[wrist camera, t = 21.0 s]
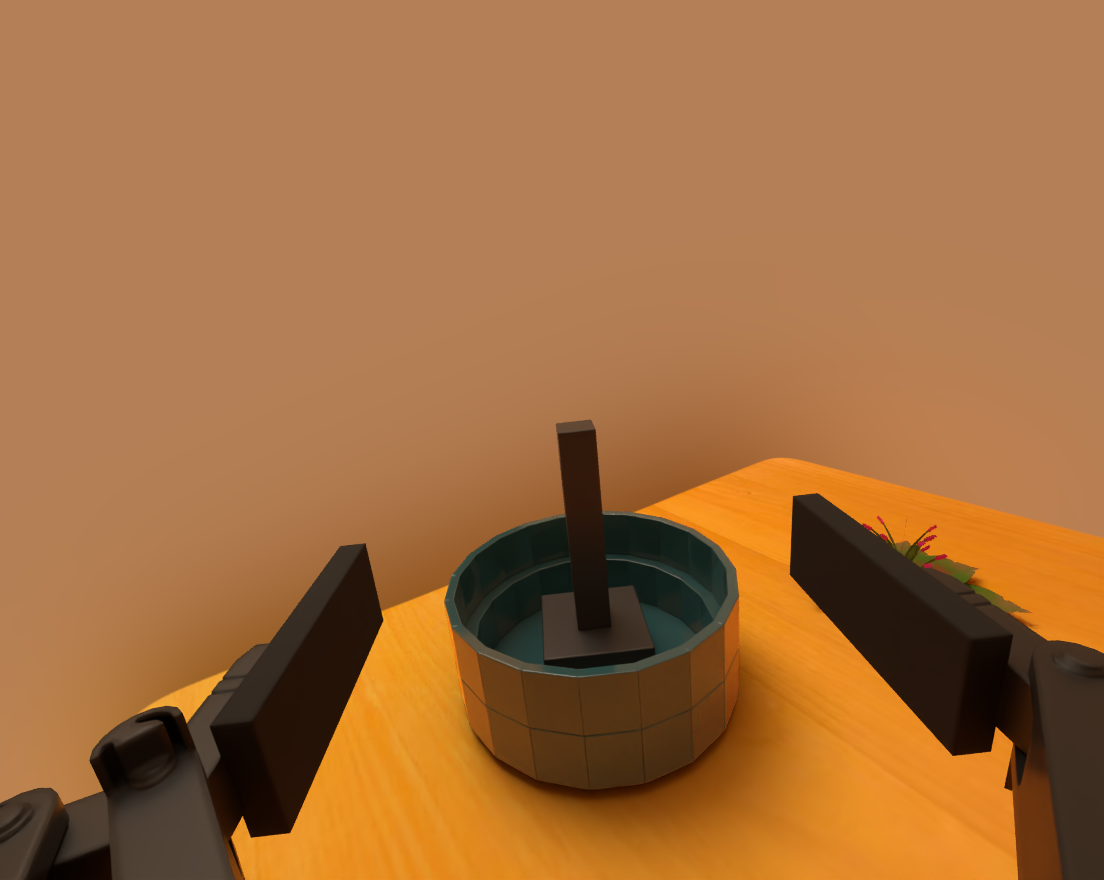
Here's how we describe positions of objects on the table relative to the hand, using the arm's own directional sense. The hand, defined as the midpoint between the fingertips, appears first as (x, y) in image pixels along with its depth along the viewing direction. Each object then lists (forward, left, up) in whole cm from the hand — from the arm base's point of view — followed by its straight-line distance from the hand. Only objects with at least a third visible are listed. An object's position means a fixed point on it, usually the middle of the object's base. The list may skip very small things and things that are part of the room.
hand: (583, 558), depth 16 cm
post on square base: (+1, +10, -13) cm, 16 cm away
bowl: (+1, +10, -13) cm, 17 cm away
